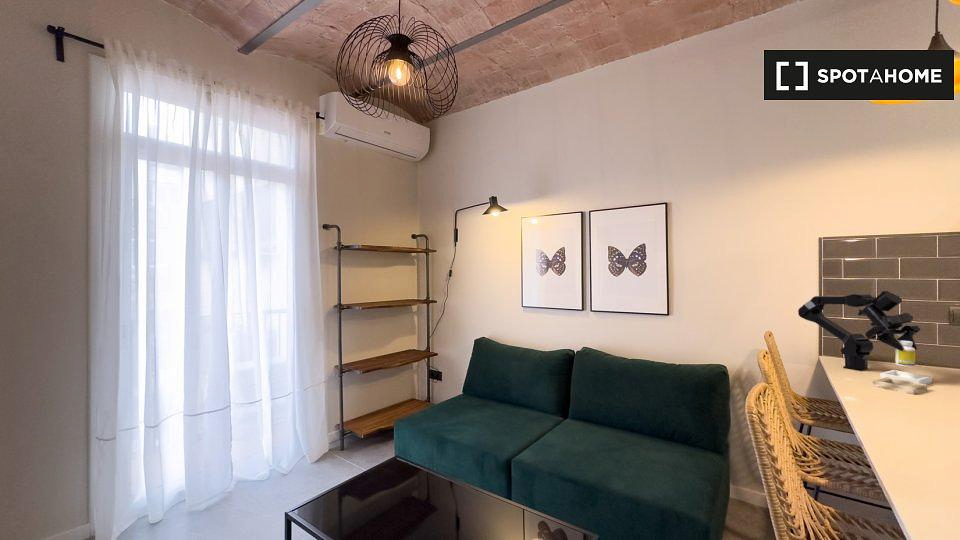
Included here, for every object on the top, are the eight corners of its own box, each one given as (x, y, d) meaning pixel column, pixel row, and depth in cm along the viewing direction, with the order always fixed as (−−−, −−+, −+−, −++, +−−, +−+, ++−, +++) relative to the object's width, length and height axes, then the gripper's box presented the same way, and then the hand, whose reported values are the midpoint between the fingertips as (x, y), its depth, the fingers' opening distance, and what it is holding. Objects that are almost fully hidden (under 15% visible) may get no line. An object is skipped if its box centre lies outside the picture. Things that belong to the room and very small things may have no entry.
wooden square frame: (872, 386, 150) (872, 381, 150) (886, 382, 154) (886, 377, 154) (913, 394, 140) (913, 389, 140) (927, 390, 144) (927, 384, 144)
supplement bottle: (919, 367, 152) (919, 342, 152) (902, 367, 153) (902, 342, 153) (907, 364, 157) (907, 340, 157) (891, 363, 159) (891, 339, 158)
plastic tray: (880, 379, 158) (880, 373, 158) (893, 375, 162) (893, 369, 162) (919, 386, 148) (919, 380, 148) (932, 382, 152) (931, 376, 152)
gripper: (873, 306, 158) (904, 339, 147) (915, 305, 159) (949, 337, 149) (853, 323, 166) (881, 354, 155) (893, 321, 167) (924, 353, 157)
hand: (909, 349), depth 154 cm, fingers closed on supplement bottle, 5 cm apart
